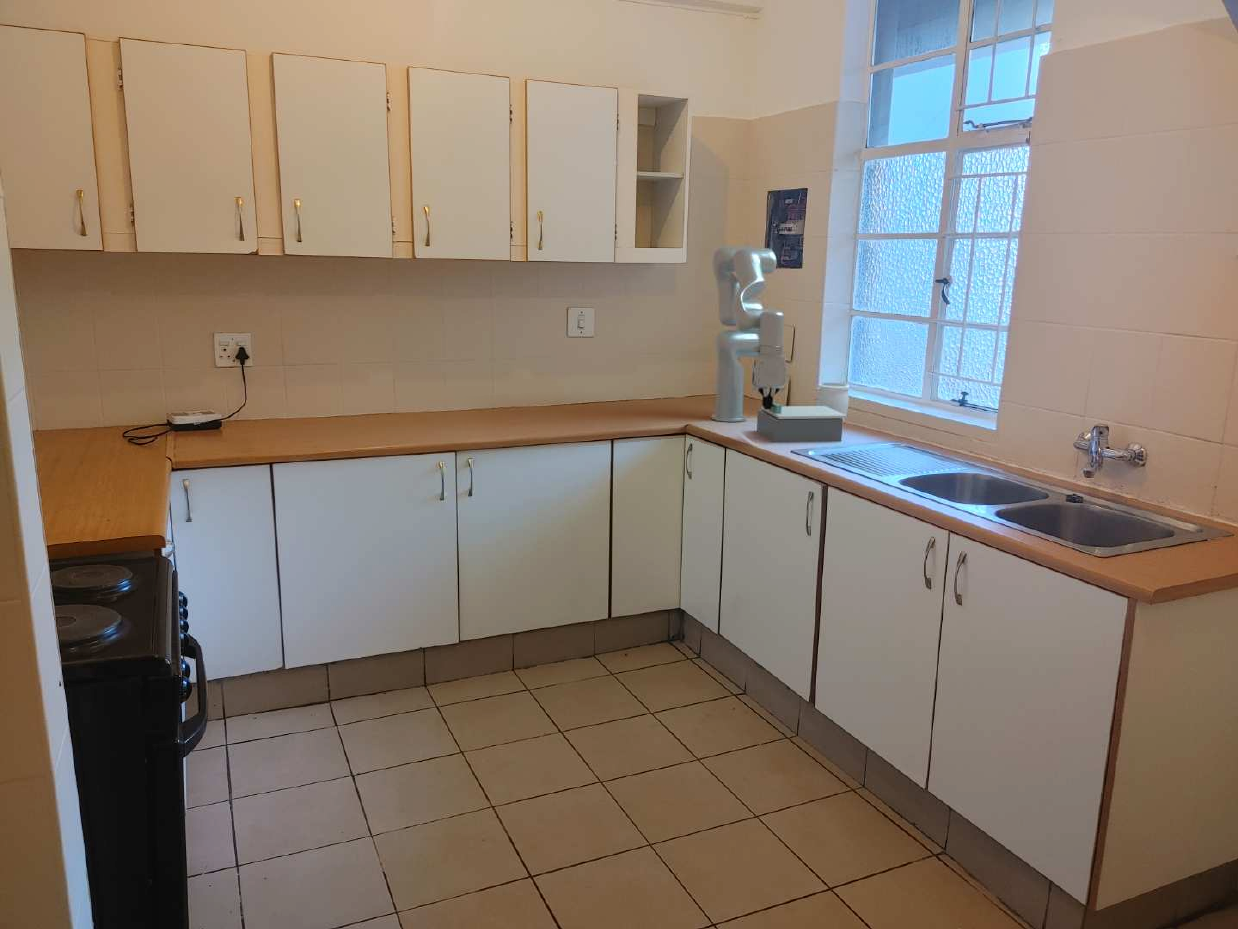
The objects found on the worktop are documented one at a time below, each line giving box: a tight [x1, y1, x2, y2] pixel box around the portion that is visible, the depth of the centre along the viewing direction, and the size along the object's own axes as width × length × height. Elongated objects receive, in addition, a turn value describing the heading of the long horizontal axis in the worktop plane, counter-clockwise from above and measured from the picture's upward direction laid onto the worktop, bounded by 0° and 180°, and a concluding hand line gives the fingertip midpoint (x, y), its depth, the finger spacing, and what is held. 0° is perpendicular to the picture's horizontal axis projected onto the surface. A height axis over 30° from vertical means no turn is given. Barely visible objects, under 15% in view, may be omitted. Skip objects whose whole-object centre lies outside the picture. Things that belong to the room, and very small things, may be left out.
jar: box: [816, 382, 850, 428], centre depth 313 cm, size 11×10×15 cm
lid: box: [761, 401, 848, 419], centre depth 294 cm, size 18×22×3 cm
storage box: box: [756, 409, 844, 443], centre depth 295 cm, size 18×22×8 cm
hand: (767, 408), depth 292 cm, fingers closed
